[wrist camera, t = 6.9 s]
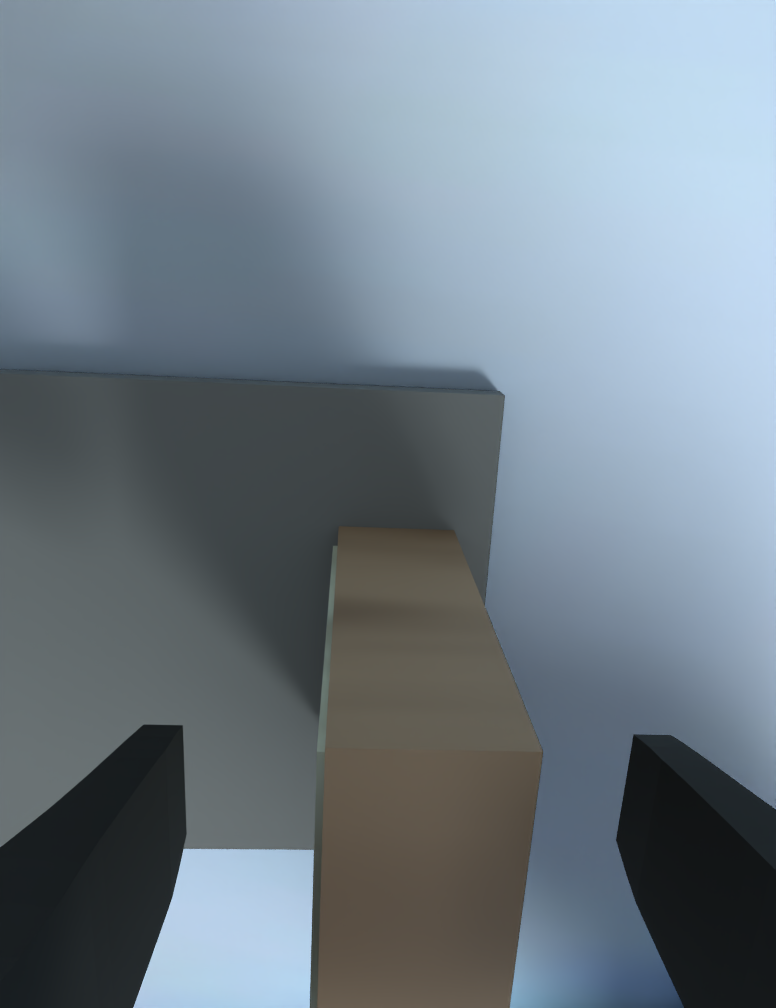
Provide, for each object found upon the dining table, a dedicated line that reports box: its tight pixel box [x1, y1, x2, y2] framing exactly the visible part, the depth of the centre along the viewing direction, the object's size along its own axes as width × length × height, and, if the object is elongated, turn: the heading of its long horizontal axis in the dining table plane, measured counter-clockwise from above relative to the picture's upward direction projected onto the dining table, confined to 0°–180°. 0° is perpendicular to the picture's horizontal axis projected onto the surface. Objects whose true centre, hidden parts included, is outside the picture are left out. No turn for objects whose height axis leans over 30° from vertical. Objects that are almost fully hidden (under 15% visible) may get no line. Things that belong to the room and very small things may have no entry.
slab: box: [310, 526, 543, 1008], centre depth 12 cm, size 5×2×8 cm, turn 177°
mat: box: [0, 369, 505, 850], centre depth 16 cm, size 11×11×1 cm
